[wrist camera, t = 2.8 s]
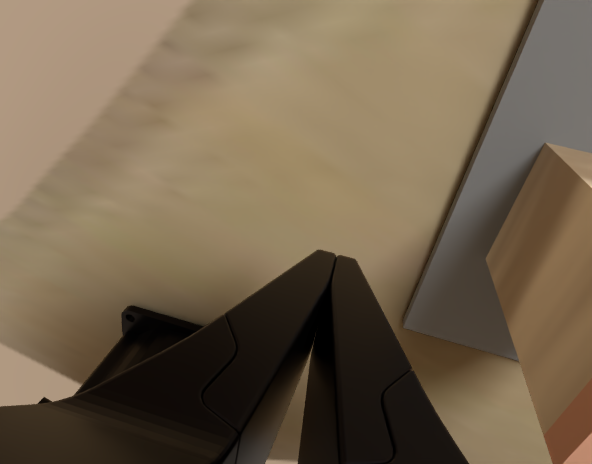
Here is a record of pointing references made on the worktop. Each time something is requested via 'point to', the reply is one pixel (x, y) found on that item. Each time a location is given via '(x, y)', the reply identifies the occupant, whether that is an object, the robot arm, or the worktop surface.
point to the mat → (507, 175)
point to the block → (552, 295)
